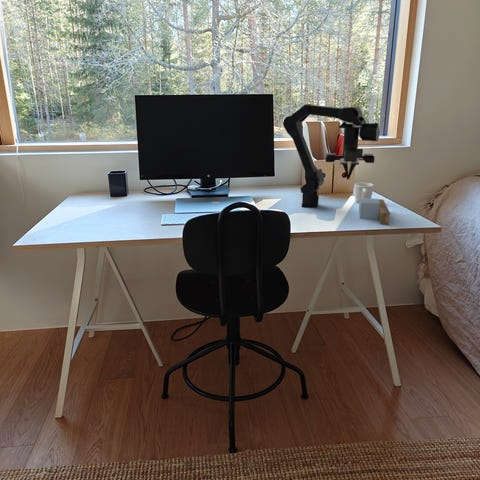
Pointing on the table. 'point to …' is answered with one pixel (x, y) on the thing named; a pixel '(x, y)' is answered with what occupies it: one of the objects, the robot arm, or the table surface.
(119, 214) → the table surface
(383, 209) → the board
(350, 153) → the robot arm
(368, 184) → the cup
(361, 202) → the block
